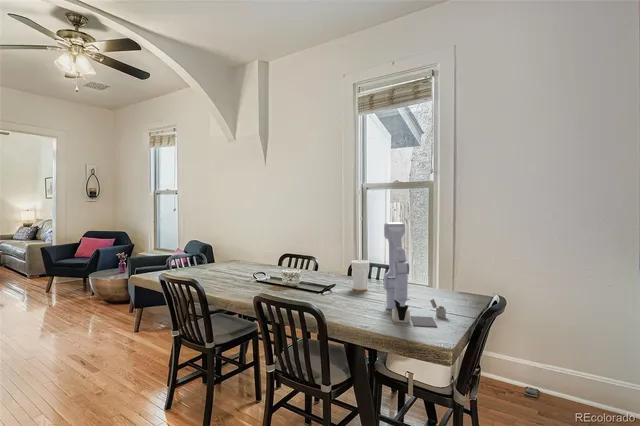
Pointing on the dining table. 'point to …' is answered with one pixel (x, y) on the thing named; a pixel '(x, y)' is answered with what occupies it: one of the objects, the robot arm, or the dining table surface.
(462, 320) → the dining table surface
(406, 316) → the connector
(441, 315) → the lighter
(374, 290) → the dining table surface
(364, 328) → the dining table surface
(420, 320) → the mat
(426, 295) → the dining table surface
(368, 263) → the cup
